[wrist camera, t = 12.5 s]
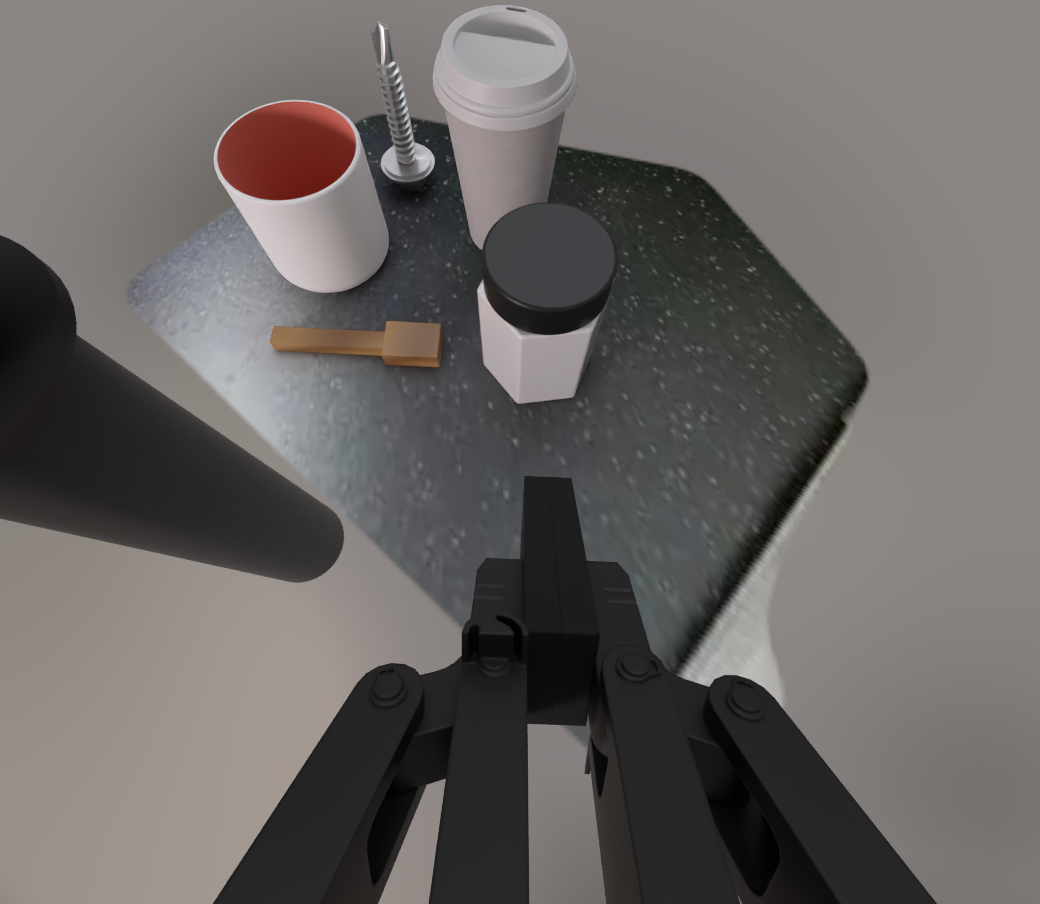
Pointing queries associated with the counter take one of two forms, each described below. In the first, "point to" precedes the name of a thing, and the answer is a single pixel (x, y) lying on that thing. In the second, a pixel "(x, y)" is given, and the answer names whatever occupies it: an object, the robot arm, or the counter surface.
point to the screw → (398, 120)
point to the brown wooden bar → (368, 342)
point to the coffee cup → (503, 107)
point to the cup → (305, 193)
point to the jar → (543, 298)
